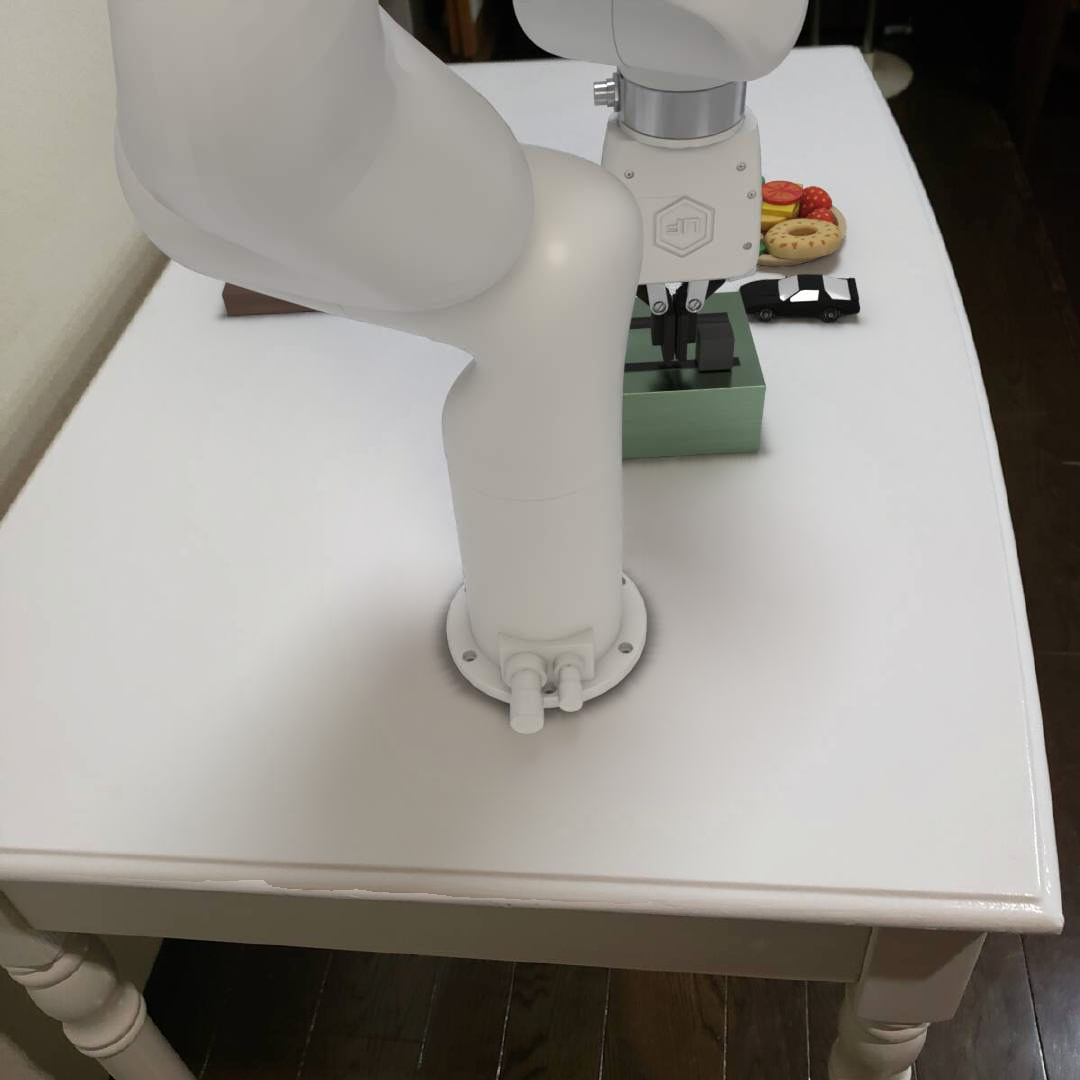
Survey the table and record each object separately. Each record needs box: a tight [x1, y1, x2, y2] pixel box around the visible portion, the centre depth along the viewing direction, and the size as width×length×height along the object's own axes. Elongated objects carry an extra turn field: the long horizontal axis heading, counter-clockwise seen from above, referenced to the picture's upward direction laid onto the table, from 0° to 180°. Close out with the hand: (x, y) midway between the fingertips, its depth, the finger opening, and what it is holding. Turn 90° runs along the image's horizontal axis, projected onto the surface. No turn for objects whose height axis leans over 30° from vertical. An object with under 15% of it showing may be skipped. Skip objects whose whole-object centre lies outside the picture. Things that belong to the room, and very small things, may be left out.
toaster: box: [622, 290, 767, 460], centre depth 84 cm, size 12×12×6 cm
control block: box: [221, 282, 319, 317], centre depth 101 cm, size 12×10×4 cm
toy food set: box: [756, 175, 848, 267], centre depth 102 cm, size 13×13×3 cm
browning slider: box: [695, 323, 735, 371], centre depth 79 cm, size 2×2×3 cm
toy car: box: [738, 273, 861, 323], centre depth 93 cm, size 10×4×3 cm, turn 85°
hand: (672, 349), depth 79 cm, fingers closed
